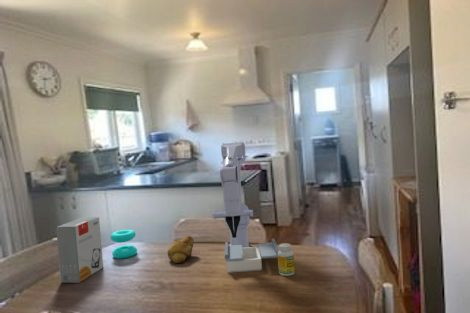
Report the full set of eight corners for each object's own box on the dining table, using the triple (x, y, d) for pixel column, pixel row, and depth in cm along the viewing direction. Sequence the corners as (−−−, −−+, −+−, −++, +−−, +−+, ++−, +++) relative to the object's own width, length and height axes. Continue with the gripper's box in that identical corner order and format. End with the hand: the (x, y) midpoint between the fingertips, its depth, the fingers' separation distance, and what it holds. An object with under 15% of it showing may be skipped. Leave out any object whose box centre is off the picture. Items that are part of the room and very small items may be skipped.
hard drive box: (79, 283, 128) (73, 227, 127) (60, 283, 130) (54, 227, 128) (104, 266, 143) (99, 216, 142) (86, 266, 145) (81, 216, 143)
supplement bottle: (285, 268, 128) (283, 241, 127) (298, 272, 124) (296, 244, 123) (275, 273, 124) (273, 245, 124) (288, 277, 120) (286, 248, 120)
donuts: (130, 234, 150) (106, 236, 150) (133, 258, 150) (108, 260, 151) (138, 228, 159) (115, 229, 160) (140, 250, 160) (117, 252, 161)
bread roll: (186, 265, 139) (185, 244, 138) (162, 265, 140) (160, 244, 140) (196, 253, 151) (194, 234, 151) (173, 253, 153) (172, 234, 153)
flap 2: (258, 245, 142) (257, 239, 142) (274, 244, 142) (274, 238, 142) (261, 258, 127) (261, 252, 127) (279, 257, 127) (279, 250, 127)
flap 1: (225, 247, 142) (225, 242, 142) (241, 246, 142) (241, 240, 142) (225, 261, 127) (224, 255, 127) (243, 259, 127) (242, 253, 127)
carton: (227, 258, 142) (226, 248, 142) (258, 256, 142) (257, 246, 142) (227, 272, 128) (226, 261, 128) (261, 270, 128) (261, 259, 128)
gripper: (210, 203, 129) (213, 241, 130) (252, 200, 129) (254, 238, 130) (212, 199, 136) (214, 235, 137) (251, 196, 136) (253, 233, 137)
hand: (234, 236), depth 134 cm, fingers closed
